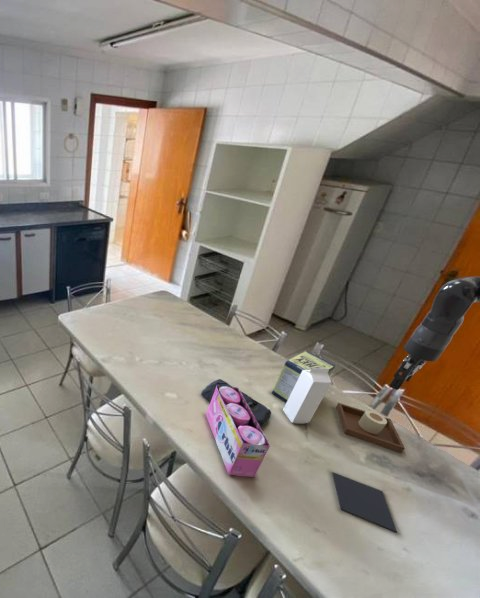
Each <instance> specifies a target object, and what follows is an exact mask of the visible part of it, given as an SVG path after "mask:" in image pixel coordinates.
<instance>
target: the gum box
mask: <svg viewBox="0 0 480 598" xmlns="http://www.w3.org/2000/svg"><path fill="white" fill-rule="evenodd" d="M232 387H233V388H230V387H226V386H225V387H220V388H219V385H218V386H216V389H215V392H214V394H213V397H212V400H211V402H210V403H209V406H208V408H207V411H206V414H205V416H206V419H207V421H208V425H209V428H210V429H211V432H212V435H213V438H214V440H215V443H216V446H217V448H218V451H219V453H220V456H221V460H222V461H223V464H224V466H225V470H226V471H227V474H228V475H229V476H238V477H251V478H255V477H256V475H257V473H258V471H259V469H260V466H261V465H262V463H263V462H264V459H265V457H266V455H267V454H268V452H269V450H270V447H271V443H270V442H269V440H268V438H267V436H266V435H265V433H264V431H263V430H262V428H261V426H259V424H258V423H257V421H256V419H255V417H254V415H253V413H252V412H251V410H250V408H249V406H248V405H247V403H246V401H245V399H244V397H243V395H242V394H241V392H242V391H241V390H240V389H239V387H237V386H232ZM240 391H241V392H240Z"/></svg>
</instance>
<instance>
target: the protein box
mask: <svg viewBox="0 0 480 598" xmlns="http://www.w3.org/2000/svg"><path fill="white" fill-rule="evenodd" d="M335 367H336V365H335V364H333V363H331V362H329V361H327V360H325V359H323V358H321V357H320V356H317V355H316V354H314V353H312V352H310V351H309V350H304V351H303V352H301V353H299V354H297V355H295V356H293V357H292V358H290V359H288V360H286V361H285V362H284V365H283V367H282V369H281V371H280V373H279V376H278V378H277V380H276V383H275V385H274V387H273V389H272V392H271V394H272V395H274V396H275V397H277V398H279V399H280V400H281V401H283V402H285V404H286V403H287V401H288V399H289V397H290V395H291V393H292V390H293V388H294V386H295V384H296V382H297V380H298V378H299V376H300V374H301V372H302V370H311V369H312V368H322V369H329V371H328V375H329V377H330V376H331V375H332V373H333V371H334V368H335Z"/></svg>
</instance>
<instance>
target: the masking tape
mask: <svg viewBox="0 0 480 598" xmlns="http://www.w3.org/2000/svg"><path fill="white" fill-rule="evenodd" d="M364 411H365V413H364V414H363V416H362V417H361V419H360V420H359V425H360V427H361V428H363V429H364V430H365V431H367V432H369V433H372V434H379V433H380V432H381V431H382V429H383V428H384V426H385V425H386V424H387V420H386V419H385V418H386V417H385V416H383V415H382V414H381V413H379V412H377V411H374V410H370V409H369V410H364ZM384 417H385V418H384Z"/></svg>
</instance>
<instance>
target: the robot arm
mask: <svg viewBox="0 0 480 598" xmlns="http://www.w3.org/2000/svg"><path fill="white" fill-rule="evenodd" d="M474 303H480V276H463V277H459V278H455V279H452V280H449V281H447V282H445V283H444V284H443V285H441V287H440V288H439V290H438V291H437V293H436V295H435V297H434V299H433V302H432V304H431V307H430V309H429V311H428V312H427V313H426V315H425V316H424V317H423V319H422V321H420V324H419V325H418V326H417V327H416V328H415V329H414V331H413V332H412V334H411V335H410V337H409V338H408V340H407V341H406V343H405V345H404V346H403V350H404V352H406V353H408V355H407V356H406V357H404V359H403V360H402V362H401V364H400V365H399V366H398V369H397V370H396V372H395V373H393V376H392V377H393V379H392V381H391V382H390V383H389V387H390V388H392V389H393V390H396V391H398V390H400V389H401V387H402V386H403V384H404V383H405V382H410V380H411V379H412V378H413V377H414V375H415V373H417V372H419V371H420V370H421V369H422V368H423V366H424V365H425V364H426V363H427V362H432V363H433V362H436V361H438V360H439V358H440V357H441V356H442V354H443V353H444V351H445V350H446V348H447V347H448V346H449V344H450V343H451V342H452V339H453V337H454V335H455V334H456V333H457V331H458V330H459V329H460V327H461V326H462V325H463V322H464V320H465V315H466V314H467V312H468V311H469V309H470V308H471V307H472V305H473V304H474Z"/></svg>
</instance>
